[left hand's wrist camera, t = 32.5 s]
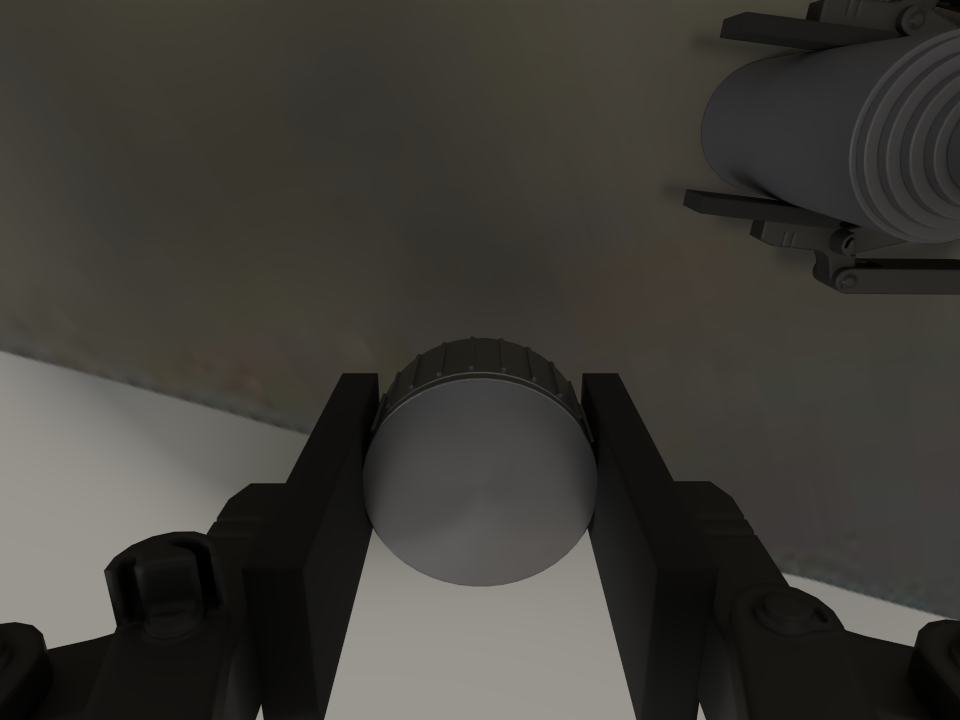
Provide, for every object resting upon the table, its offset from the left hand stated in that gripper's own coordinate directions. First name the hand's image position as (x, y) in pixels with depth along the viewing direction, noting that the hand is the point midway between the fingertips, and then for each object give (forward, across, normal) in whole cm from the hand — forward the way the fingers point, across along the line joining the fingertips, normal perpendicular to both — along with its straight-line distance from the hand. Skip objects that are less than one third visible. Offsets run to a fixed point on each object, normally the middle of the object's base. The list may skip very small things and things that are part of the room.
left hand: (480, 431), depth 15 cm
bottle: (+26, +16, +6) cm, 30 cm away
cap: (-2, 0, 0) cm, 2 cm away
